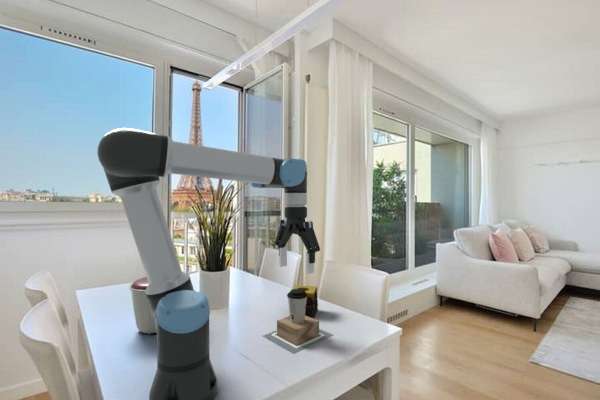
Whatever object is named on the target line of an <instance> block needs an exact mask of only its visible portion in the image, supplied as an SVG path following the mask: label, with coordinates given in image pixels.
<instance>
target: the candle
mask: <svg viewBox="0 0 600 400" xmlns="http://www.w3.org/2000/svg"><path fill="white" fill-rule="evenodd" d="M293 289H303V290H305V292H306V293H307V295H308V296H307V301H306V310H305V315H306V316H308V317H311V318H313V319H315V317H316V315H317V313H318V311H319V309H318V308H319V307H318V306H319V302H318V301H319V300H318V285H317V286H316V285H294V286H293V288H292V289H291V290H293Z"/></svg>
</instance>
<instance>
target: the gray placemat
mask: <svg viewBox="0 0 600 400" xmlns="http://www.w3.org/2000/svg"><path fill="white" fill-rule="evenodd" d="M333 336H334V334H332V333H330V332H327V330H326V331H325V330H323V329H321V328H319V336H318V337H315V338H313V339H311V340H309V341H306V342H304V343H302V344H300V345H297V346H296V345H295V344H293V343H291V342H289V341H287V340H285V339H283V338H281V337H279V336H278V335H277V330H274V331H271V332H268V333H265V334H264V335H262V337H263V338H264V339H266V340H268V341H270V342H271V343H274V345H275V344H276V345H277V346H278V347H281V348H282V349H284V350H286V351H288V352H289V353H291V354H293V355H294V354H297V353H299V352H300V351H303V350H305V349H307V348H310V347H311V346H314V345H315V344H318V343H320V342H323V341H324V340H328V339H329V338H331V337H333Z"/></svg>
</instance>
